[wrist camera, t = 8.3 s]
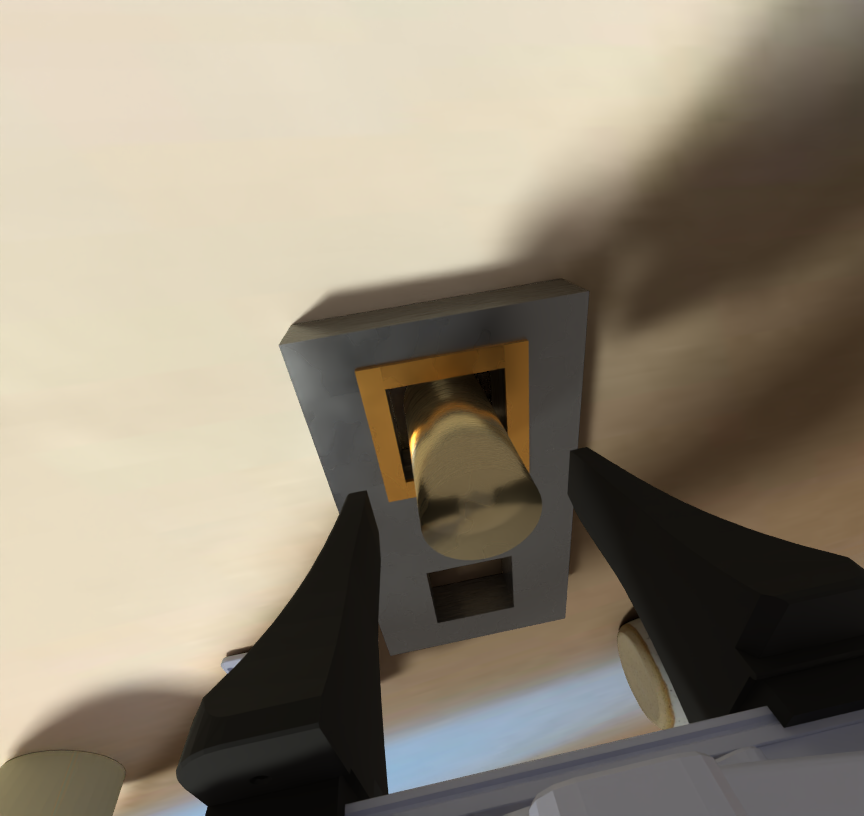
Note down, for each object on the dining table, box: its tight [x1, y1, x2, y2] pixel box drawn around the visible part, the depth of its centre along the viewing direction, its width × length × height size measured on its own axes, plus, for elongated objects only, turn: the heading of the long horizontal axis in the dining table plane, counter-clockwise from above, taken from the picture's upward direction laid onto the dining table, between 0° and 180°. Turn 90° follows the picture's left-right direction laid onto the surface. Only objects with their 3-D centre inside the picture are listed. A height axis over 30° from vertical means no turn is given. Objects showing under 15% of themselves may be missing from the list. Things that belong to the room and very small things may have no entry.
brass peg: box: [403, 374, 542, 560], centre depth 16 cm, size 4×4×8 cm
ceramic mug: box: [617, 618, 689, 730], centre depth 30 cm, size 11×8×8 cm
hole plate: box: [279, 279, 589, 656], centre depth 21 cm, size 22×12×3 cm, turn 8°
